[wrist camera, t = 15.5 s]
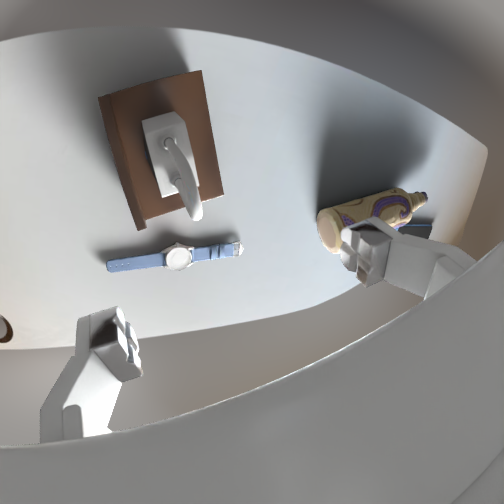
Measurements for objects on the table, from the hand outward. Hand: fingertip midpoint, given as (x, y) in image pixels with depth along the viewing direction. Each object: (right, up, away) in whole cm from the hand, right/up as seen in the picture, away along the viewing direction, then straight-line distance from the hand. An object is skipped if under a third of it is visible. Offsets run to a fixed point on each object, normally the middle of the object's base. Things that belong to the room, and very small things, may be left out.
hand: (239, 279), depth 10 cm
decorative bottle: (+22, +9, +41) cm, 47 cm away
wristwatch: (-10, +1, +31) cm, 32 cm away
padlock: (-8, +11, +17) cm, 22 cm away
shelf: (-10, +14, +22) cm, 28 cm away
